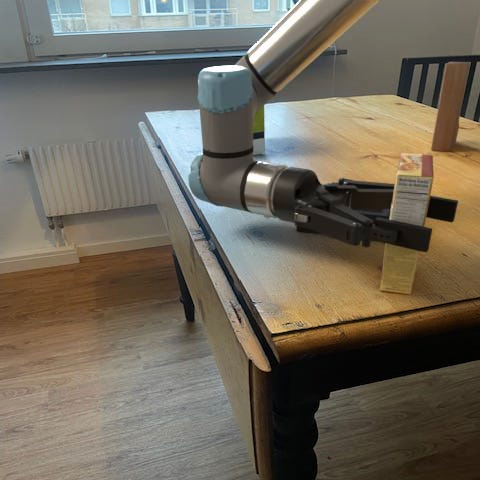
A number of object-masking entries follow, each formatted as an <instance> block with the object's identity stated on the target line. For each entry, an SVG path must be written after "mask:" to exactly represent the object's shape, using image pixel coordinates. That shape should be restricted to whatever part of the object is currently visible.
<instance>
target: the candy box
mask: <svg viewBox="0 0 480 480" xmlns="http://www.w3.org/2000/svg"><path fill="white" fill-rule="evenodd" d="M434 176H435V173H434V155H432V154H425V153H411V152H410V153H409V152H408V153H407V152H406V153H405V152H404V153H403V152H402V153H400V154H399V159H398V164H397V170H396V175H395V180H394V184H395V186H394V192H393V198H392V204H391V211H390V218H389V220H394V221H398V222H403V223H408V224H413V225H418V226H422V227H426V220H427V218H426V215H427V210H428V205H429V200H430V196H432V195H431V194H432V190H433V183H434V178H435V177H434ZM419 256H420V251H417V250H412V249H408V248H404V247H400V246H395V245H391V244H387V243H385V245H384V253H383V259H382V260H383V261H382V269H381V278H380V286H379V291H380V292H387V293H395V294H402V295H403V294H404V295H411V293H412V289H413V283H414V279H415V275H416V270H417V264H418V259H419Z"/></svg>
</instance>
